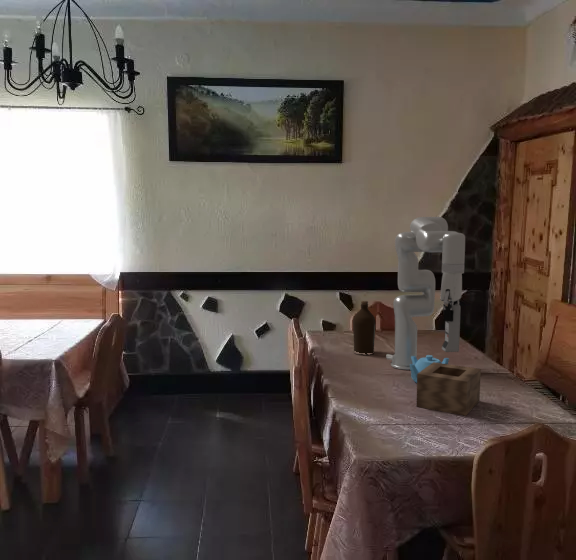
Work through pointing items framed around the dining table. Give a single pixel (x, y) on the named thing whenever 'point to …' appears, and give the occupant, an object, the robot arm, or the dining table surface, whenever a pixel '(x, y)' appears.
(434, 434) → the dining table surface
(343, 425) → the dining table surface
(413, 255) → the robot arm
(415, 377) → the teapot
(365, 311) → the olive oil
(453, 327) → the vintage mobile phone
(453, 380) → the well block
